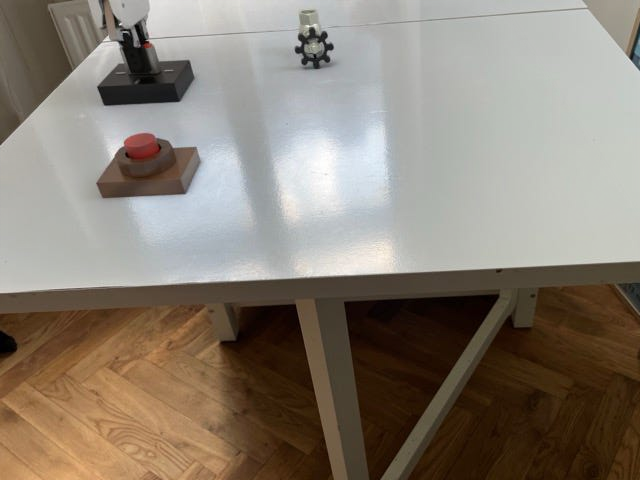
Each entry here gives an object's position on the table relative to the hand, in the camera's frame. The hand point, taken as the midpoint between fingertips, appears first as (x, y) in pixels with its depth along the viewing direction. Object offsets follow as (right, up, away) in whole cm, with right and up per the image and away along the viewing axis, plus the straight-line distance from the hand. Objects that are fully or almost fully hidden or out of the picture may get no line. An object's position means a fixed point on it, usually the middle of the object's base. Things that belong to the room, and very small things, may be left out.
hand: (143, 69), depth 88 cm
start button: (+10, -19, -22) cm, 30 cm away
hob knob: (0, 0, 0) cm, 0 cm away
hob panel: (0, -3, +2) cm, 4 cm away
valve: (+26, +6, +11) cm, 29 cm away
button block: (+10, -21, -19) cm, 31 cm away
